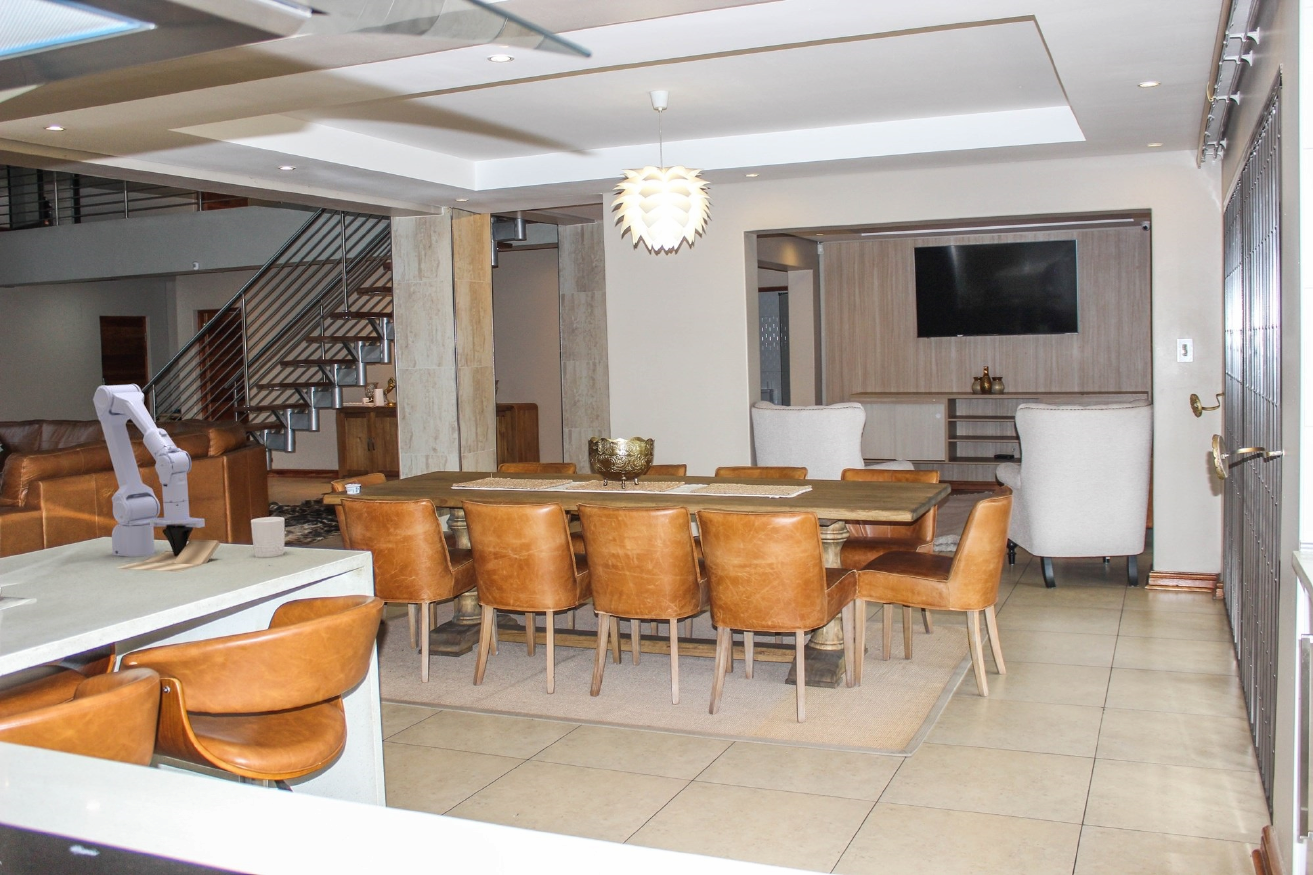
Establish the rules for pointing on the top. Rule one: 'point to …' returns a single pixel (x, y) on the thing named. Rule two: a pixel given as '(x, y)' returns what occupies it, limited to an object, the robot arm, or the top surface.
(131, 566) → the floor board
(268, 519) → the white cup
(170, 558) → the plank
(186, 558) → the plank
